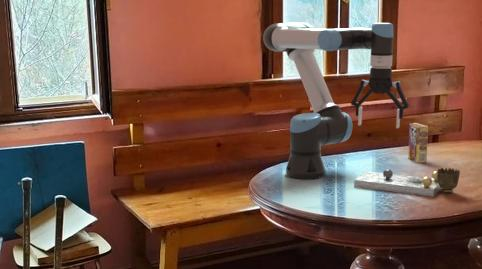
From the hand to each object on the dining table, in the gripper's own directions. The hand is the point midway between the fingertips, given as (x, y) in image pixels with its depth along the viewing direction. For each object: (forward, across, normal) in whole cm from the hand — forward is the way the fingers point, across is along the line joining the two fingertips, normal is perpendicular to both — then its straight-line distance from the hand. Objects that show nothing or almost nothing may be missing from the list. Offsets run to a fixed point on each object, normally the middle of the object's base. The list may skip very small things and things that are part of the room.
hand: (378, 126), depth 225 cm
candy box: (+22, +10, +40) cm, 46 cm away
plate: (+21, +9, -4) cm, 23 cm away
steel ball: (+16, +5, -3) cm, 17 cm away
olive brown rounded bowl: (+20, +26, -6) cm, 33 cm away
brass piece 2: (+16, +21, -1) cm, 27 cm away
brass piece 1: (+16, +19, -10) cm, 27 cm away
